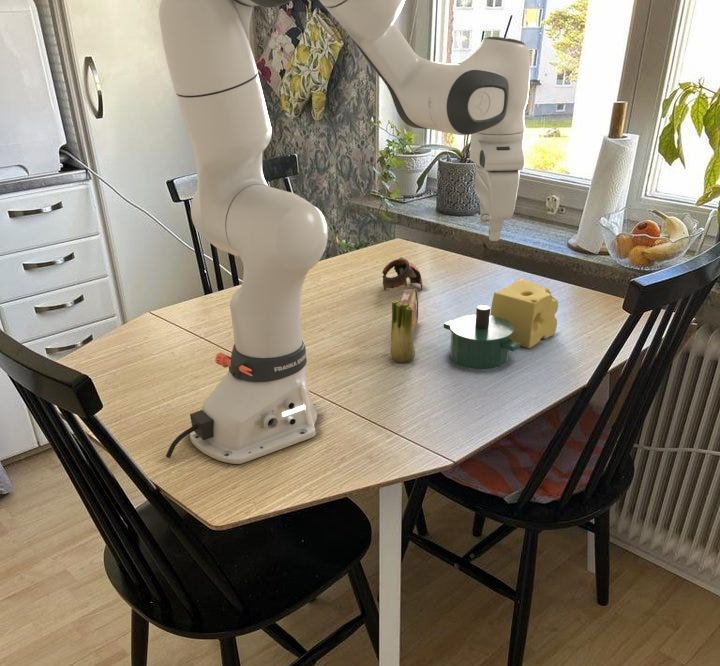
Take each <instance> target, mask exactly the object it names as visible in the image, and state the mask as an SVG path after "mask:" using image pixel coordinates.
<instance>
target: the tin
mask: <svg viewBox="0 0 720 666" xmlns="http://www.w3.org/2000/svg"><path fill="white" fill-rule="evenodd" d="M418 295H419V293H418V291H417V289H416V288H414V289H404V290H403V291H402V294H401V296H400V299H399V300H398V303H402V304H403V305H404V304H405V303H407V304H408V307H411V308H412V310H413V311H412V334H413V333H414V330H415V328H416V327H418V321H419V296H418Z"/></svg>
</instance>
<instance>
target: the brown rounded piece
mask: <svg viewBox="0 0 720 666" xmlns="http://www.w3.org/2000/svg"><path fill="white" fill-rule="evenodd" d="M392 269H393V270H394V271H395V273H396V276H392V277H389V276H387V275H388V273H389V272H390V270H392ZM382 274H383V275H382V287H383V290H384V291H386V290H387V289H395V288H399V287H402V286H406V287H408V281H407V279H408V278H409V283H410V284H411V285H412V284H419V285H420V290H421V291H423V290H424V282H423V278H422V275H421V272H420V271H419V268H418V267H417V266H416V264H413V263H412V262H409V261H408V259H407V258H404V257H398V258H396V259H393V260H392V261H390V262H388V263H387V264H386V265H385V267H384V268H383V269H382Z"/></svg>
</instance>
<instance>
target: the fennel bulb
mask: <svg viewBox="0 0 720 666" xmlns="http://www.w3.org/2000/svg"><path fill="white" fill-rule="evenodd" d="M412 311H413V310H412V308H411V307H408V304H407V303H405V304H404V305H403V304H402V303H399V300H392V301H391V327H390V329H391V330H390V356H391V360H392V361H393V362H395V363H397V364H408V363H411V362H412V361H413V360H414V358H415V356H416V347H415V343H414V337H413V333H412Z"/></svg>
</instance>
